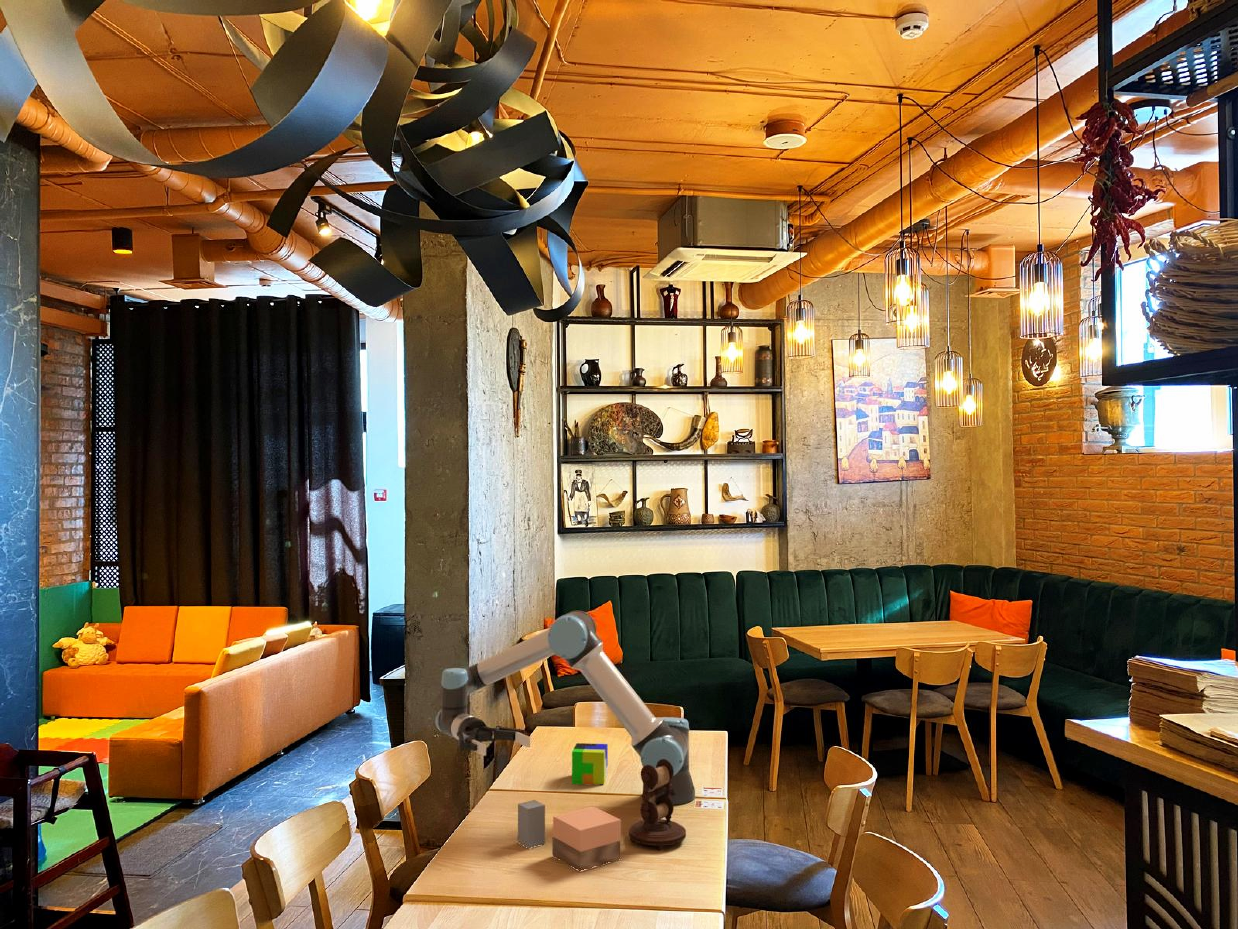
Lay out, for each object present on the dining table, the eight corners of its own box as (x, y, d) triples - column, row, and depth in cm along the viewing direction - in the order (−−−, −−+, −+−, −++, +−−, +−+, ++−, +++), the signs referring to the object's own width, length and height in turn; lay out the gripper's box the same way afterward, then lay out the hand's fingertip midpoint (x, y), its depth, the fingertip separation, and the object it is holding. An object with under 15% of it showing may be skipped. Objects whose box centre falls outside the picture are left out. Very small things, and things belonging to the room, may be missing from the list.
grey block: (534, 839, 229) (534, 799, 230) (544, 844, 225) (544, 805, 226) (517, 843, 226) (517, 803, 227) (528, 849, 222) (528, 809, 223)
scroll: (651, 826, 238) (651, 751, 239) (697, 839, 229) (696, 761, 230) (617, 842, 227) (617, 763, 228) (663, 856, 218) (662, 774, 218)
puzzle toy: (607, 775, 283) (607, 744, 284) (603, 785, 273) (603, 752, 274) (576, 774, 284) (576, 743, 285) (572, 784, 274) (572, 751, 275)
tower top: (592, 826, 225) (592, 806, 226) (621, 840, 216) (621, 819, 216) (553, 836, 218) (553, 816, 218) (580, 852, 209) (580, 830, 209)
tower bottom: (591, 846, 225) (591, 826, 225) (620, 861, 215) (620, 840, 216) (552, 858, 218) (552, 837, 218) (580, 874, 208) (580, 852, 208)
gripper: (507, 736, 260) (546, 752, 243) (429, 750, 245) (465, 768, 228) (507, 710, 261) (546, 725, 244) (429, 723, 245) (465, 739, 229)
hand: (507, 746), depth 236 cm, fingers open, 13 cm apart
